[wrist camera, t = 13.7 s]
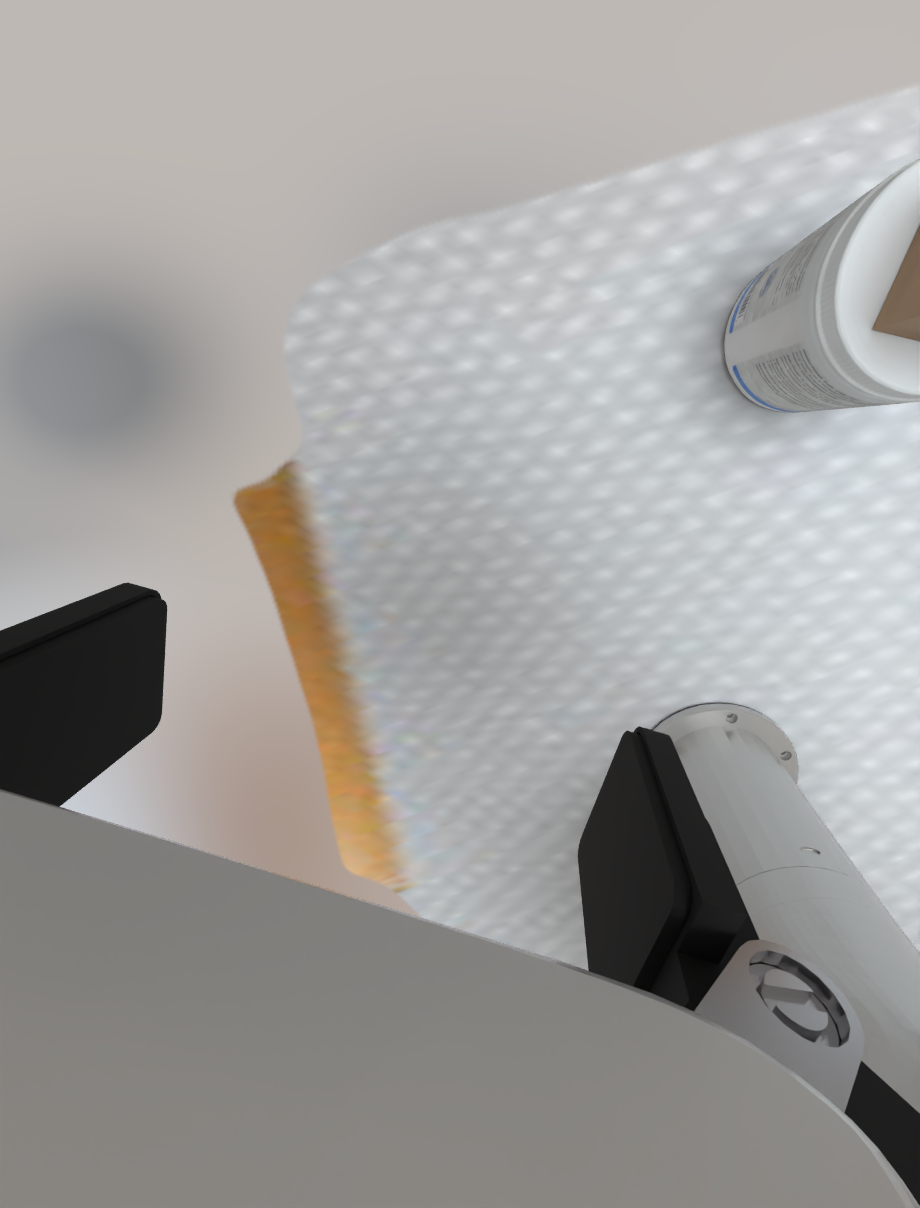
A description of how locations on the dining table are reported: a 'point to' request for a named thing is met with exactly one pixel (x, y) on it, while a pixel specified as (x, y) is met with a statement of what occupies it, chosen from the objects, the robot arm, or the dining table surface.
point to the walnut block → (903, 298)
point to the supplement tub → (831, 312)
